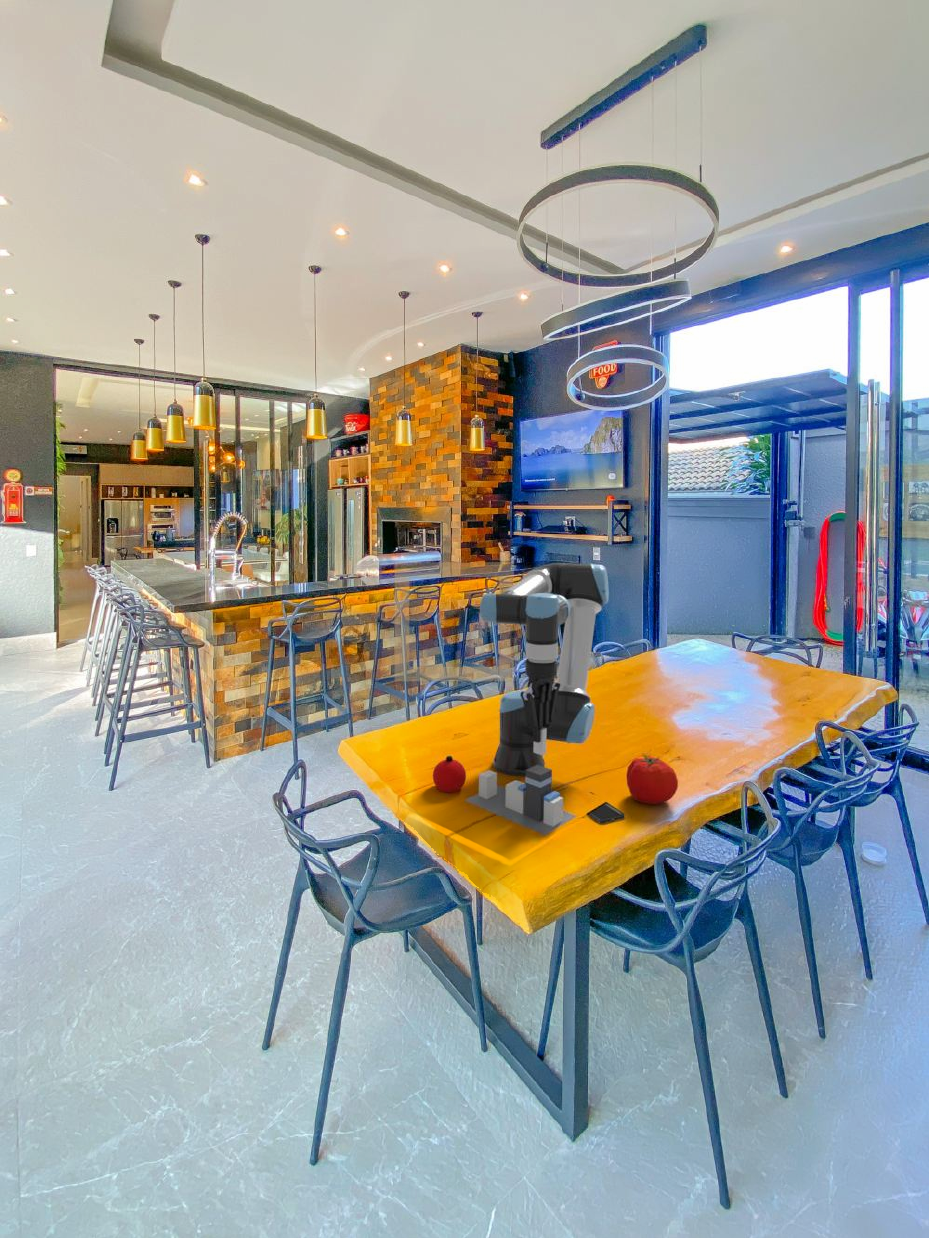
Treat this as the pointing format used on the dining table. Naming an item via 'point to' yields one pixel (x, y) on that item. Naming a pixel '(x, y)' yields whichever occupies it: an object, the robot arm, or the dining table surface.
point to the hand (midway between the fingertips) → (539, 753)
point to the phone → (606, 813)
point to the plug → (537, 791)
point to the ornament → (449, 775)
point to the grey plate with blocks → (518, 804)
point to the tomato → (651, 780)
